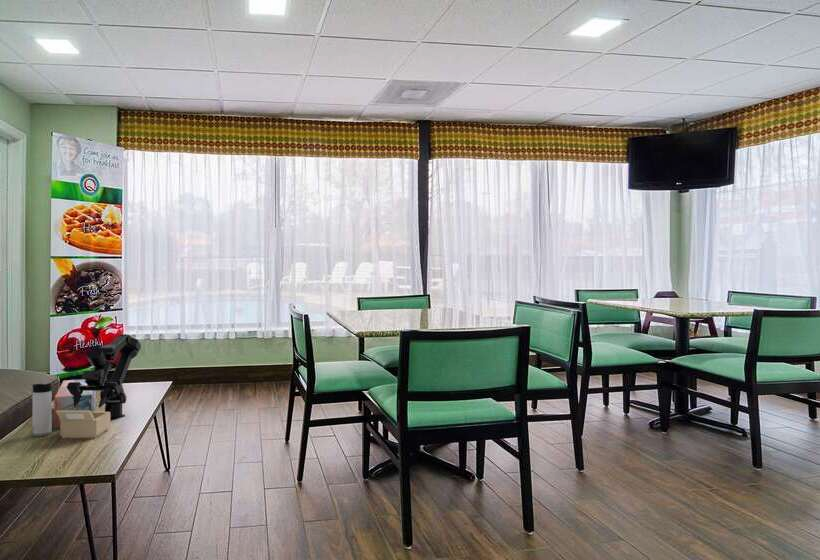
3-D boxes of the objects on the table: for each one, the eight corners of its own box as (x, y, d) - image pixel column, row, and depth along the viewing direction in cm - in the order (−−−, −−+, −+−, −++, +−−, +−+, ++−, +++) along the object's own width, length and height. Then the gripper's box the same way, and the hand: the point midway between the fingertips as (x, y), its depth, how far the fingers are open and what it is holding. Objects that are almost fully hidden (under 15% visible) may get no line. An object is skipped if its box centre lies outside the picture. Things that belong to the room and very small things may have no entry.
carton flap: (56, 410, 220) (55, 412, 219) (90, 410, 220) (89, 412, 220) (61, 419, 224) (61, 421, 223) (94, 419, 224) (94, 421, 224)
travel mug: (29, 437, 225) (29, 384, 224) (35, 432, 231) (35, 381, 230) (48, 436, 226) (48, 383, 226) (53, 431, 233) (53, 380, 232)
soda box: (93, 426, 243) (93, 394, 242) (53, 429, 236) (53, 397, 236) (96, 404, 279) (96, 377, 279) (61, 407, 273) (62, 379, 273)
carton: (76, 429, 236) (76, 411, 236) (110, 429, 237) (110, 411, 237) (60, 438, 224) (60, 419, 224) (96, 438, 225) (96, 419, 224)
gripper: (68, 361, 235) (54, 396, 224) (117, 361, 236) (105, 396, 225) (78, 377, 243) (64, 411, 232) (125, 377, 244) (114, 411, 233)
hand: (86, 407), depth 231 cm, fingers open, 9 cm apart
